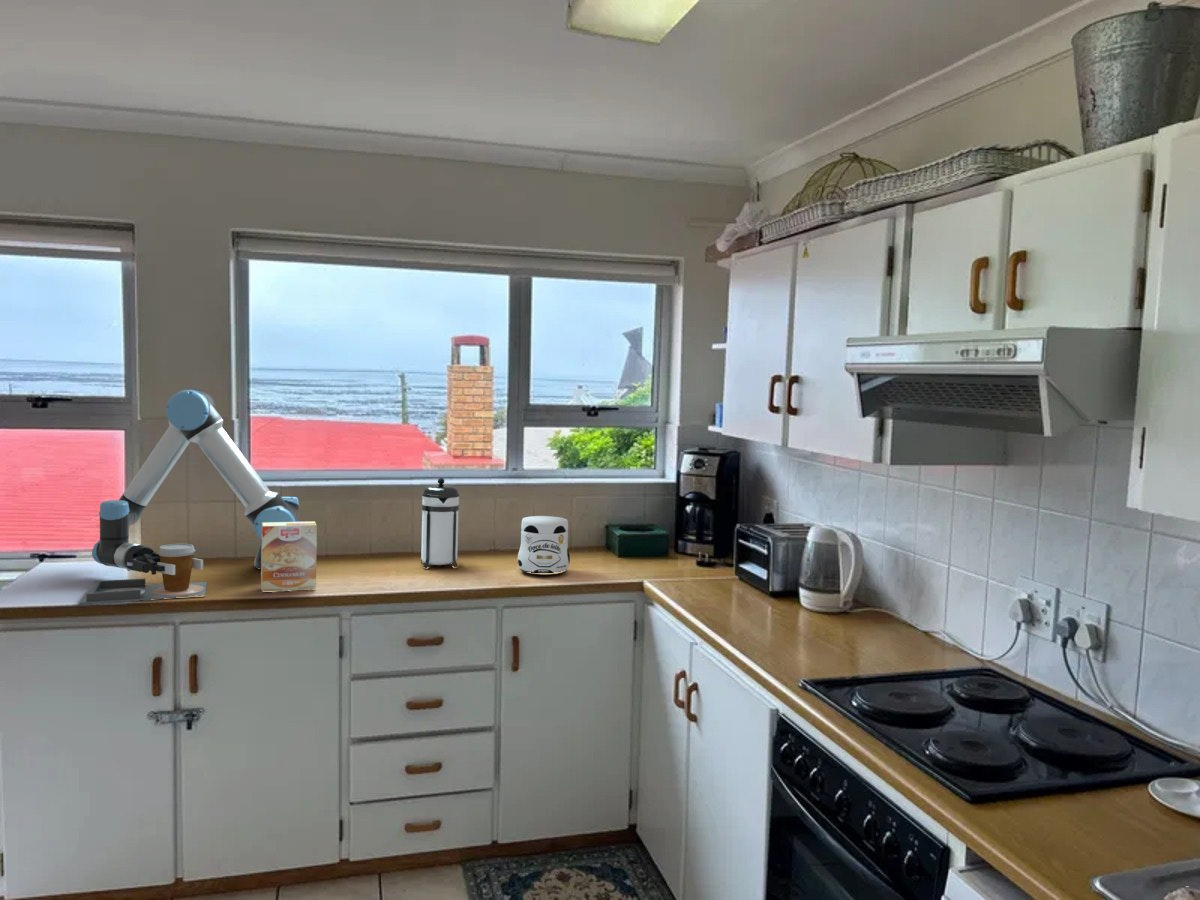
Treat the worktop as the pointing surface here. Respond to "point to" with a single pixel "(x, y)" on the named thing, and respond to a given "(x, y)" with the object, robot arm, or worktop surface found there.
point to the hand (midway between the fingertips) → (188, 567)
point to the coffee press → (440, 524)
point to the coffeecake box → (288, 556)
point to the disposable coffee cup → (177, 565)
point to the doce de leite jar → (544, 544)
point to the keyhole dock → (135, 591)
